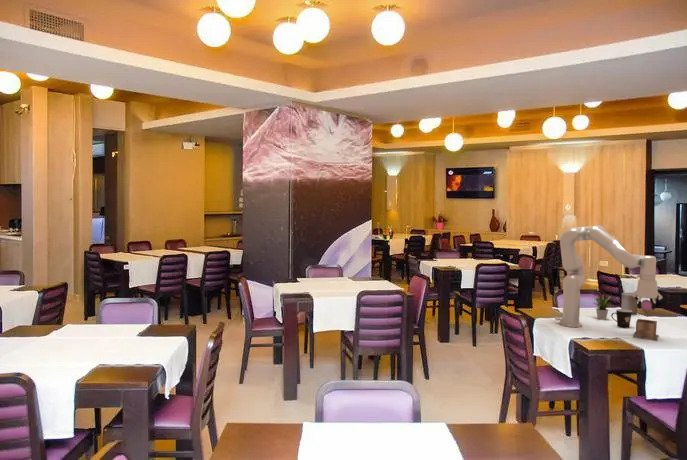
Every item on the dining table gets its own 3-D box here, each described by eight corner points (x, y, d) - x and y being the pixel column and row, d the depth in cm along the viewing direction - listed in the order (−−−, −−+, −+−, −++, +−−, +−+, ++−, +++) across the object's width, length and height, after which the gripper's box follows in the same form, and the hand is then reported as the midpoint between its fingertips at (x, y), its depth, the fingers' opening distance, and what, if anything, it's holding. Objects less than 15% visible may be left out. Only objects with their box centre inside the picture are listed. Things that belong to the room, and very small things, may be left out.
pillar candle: (637, 313, 375) (638, 291, 374) (636, 315, 367) (637, 293, 366) (621, 311, 380) (622, 290, 380) (620, 314, 372) (620, 292, 371)
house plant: (588, 319, 353) (589, 294, 352) (587, 315, 366) (588, 291, 365) (612, 322, 348) (613, 296, 347) (611, 317, 361) (612, 292, 360)
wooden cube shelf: (632, 337, 310) (633, 321, 310) (634, 333, 320) (635, 318, 320) (657, 340, 304) (658, 325, 303) (658, 336, 314) (659, 321, 313)
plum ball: (639, 310, 310) (640, 300, 310) (640, 308, 315) (641, 298, 315) (652, 311, 307) (652, 301, 307) (652, 310, 312) (653, 299, 312)
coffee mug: (629, 325, 338) (630, 309, 338) (632, 329, 330) (633, 312, 330) (609, 324, 342) (609, 308, 341) (610, 327, 334) (611, 310, 333)
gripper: (629, 277, 312) (628, 308, 313) (665, 279, 302) (663, 312, 303) (631, 275, 318) (630, 306, 319) (665, 278, 309) (664, 309, 310)
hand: (646, 308), depth 311 cm, fingers closed on plum ball, 5 cm apart
